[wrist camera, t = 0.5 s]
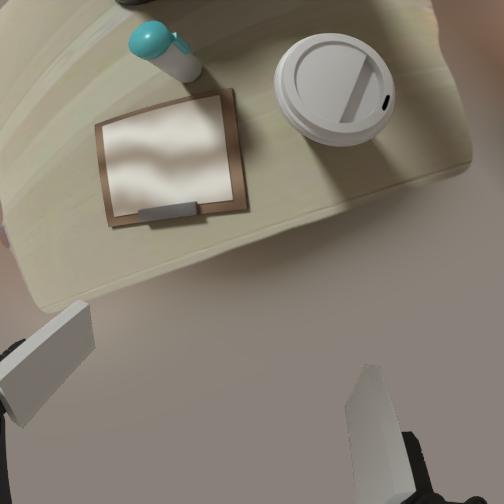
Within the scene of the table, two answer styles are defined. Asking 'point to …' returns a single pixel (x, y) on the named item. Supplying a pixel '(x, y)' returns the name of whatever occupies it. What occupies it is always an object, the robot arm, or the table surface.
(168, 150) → the clipboard
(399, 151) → the table surface
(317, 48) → the coffee cup
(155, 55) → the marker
